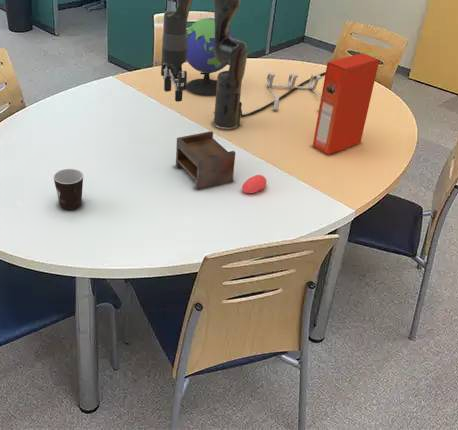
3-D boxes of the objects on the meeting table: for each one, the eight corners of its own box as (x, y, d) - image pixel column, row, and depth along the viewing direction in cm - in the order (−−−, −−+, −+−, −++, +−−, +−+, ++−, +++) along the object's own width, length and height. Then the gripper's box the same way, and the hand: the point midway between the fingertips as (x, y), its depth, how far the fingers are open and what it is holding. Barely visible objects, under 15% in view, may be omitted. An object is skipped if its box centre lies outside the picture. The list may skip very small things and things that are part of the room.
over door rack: (313, 86, 262) (317, 65, 256) (325, 114, 238) (330, 92, 232) (265, 84, 262) (268, 63, 256) (272, 112, 238) (276, 89, 232)
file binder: (311, 146, 214) (327, 61, 196) (343, 135, 223) (361, 52, 205) (328, 155, 209) (346, 69, 191) (360, 143, 218) (380, 59, 199)
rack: (209, 159, 203) (211, 131, 197) (232, 181, 192) (235, 152, 185) (175, 166, 198) (176, 137, 192) (197, 190, 187) (199, 159, 180)
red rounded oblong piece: (269, 196, 188) (273, 176, 187) (249, 193, 182) (252, 173, 182) (258, 194, 192) (261, 175, 191) (238, 191, 186) (241, 172, 186)
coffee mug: (57, 197, 180) (54, 168, 175) (85, 196, 181) (84, 168, 175) (54, 218, 171) (51, 189, 165) (83, 218, 172) (81, 189, 166)
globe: (182, 76, 266) (186, 9, 249) (231, 80, 264) (238, 12, 247) (177, 96, 248) (180, 24, 231) (230, 100, 246) (237, 28, 229)
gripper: (195, 52, 174) (193, 103, 183) (176, 37, 184) (174, 86, 193) (172, 54, 171) (171, 106, 180) (154, 39, 181) (153, 89, 191)
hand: (172, 95), depth 187 cm, fingers open, 8 cm apart
